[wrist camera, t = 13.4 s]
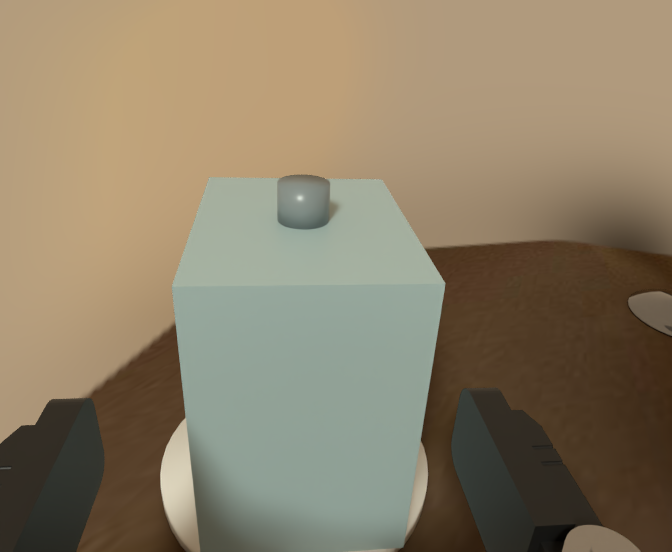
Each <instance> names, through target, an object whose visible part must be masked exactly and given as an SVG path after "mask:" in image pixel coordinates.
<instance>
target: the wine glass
mask: <svg viewBox="0 0 672 552" xmlns="http://www.w3.org/2000/svg"><path fill="white" fill-rule="evenodd" d="M627 302H628V307H629V308H630V310H631V311H632V313H633V314H634V315H635V316H636V317H637V318H639V319H640V320H641V321H642V322H644V323H645V324H647V325H648V326H650V327H652V328H654V329H656V330H658V331H660V332H662V333H664V334H666V335H669V336H671V337H672V290H666V289H646V290H641V291H637V292H635V293H633V294H632V295H631V296H630V297H629V298H628V301H627Z"/></svg>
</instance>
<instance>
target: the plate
mask: <svg viewBox="0 0 672 552" xmlns="http://www.w3.org/2000/svg"><path fill="white" fill-rule="evenodd" d="M160 475H161V492H162V499H163V505H164V510H165V515H166V518H167V521H168V523H169V526H170V528H171V531H172V533H173V534H174V536H175V537H176V539H177V541H178V542H179V544H180V545H181V547H182V548H183V549H184V550H185V551H186V552H200V544H199V535H198V525H197V516H196V507H195V497H194V488H193V479H192V470H191V460H190V451H189V442H188V432H187V423H186V418H185V419H184V420H183V421H182V422H181V424H180V425H179V426H178V428H177V429H176V431H175V432H174V434H173V435H172V437H171V439H170V441H169V443H168V445H167V447H166V450H165V453H164V456H163V460H162V466H161V473H160ZM427 480H428V467H427V459H426V455H425V450H424V447H423V445H422V442H421V441H420V447H419V453H418V459H417V466H416V472H415V478H414V485H413V491H412V497H411V504H410V510H409V516H408V523H407V529H406V535H405V541H404V545H405V543H406V542H407V540H408V539H409V537H410V536H411V534H412V533H413V531H414V529H415V527H416V525H417V523H418V521H419V519H420V516H421V512H422V509H423V505H424V501H425V495H426V489H427ZM400 549H401V548H392V549H377V550H363V551H348V552H398V551H399V550H400Z"/></svg>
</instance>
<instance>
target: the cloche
mask: <svg viewBox="0 0 672 552" xmlns="http://www.w3.org/2000/svg"><path fill="white" fill-rule="evenodd" d="M444 289H445V282H444V281H443V279H442V277H441V276H440V274H439V272H438V271H437V269H436V268H435V266H434V264H433V263H432V261H431V259H430V258H429V256H428V254H427V253H426V251H425V250H424V248H423V246H422V245H421V243H420V241H419V240H418V238H417V236H416V235H415V233H414V232H413V230H412V228H411V227H410V225H409V223H408V222H407V220H406V218H405V217H404V215H403V214H402V212H401V210H400V209H399V207H398V205H397V204H396V202H395V200H394V199H393V197H392V195H391V194H390V192H389V190H388V189H387V187H386V186H385V184H384V182H383V181H382V180H374V179H370V180H369V179H325V178H322V177H318V176H312V175H290V176H285V177H283V178H216V177H213V178H212V177H209V179H208V182H207V185H206V188H205V191H204V194H203V197H202V200H201V203H200V206H199V209H198V212H197V215H196V217H195V220H194V223H193V227H192V229H191V232H190V235H189V238H188V241H187V244H186V247H185V250H184V253H183V255H182V258H181V261H180V264H179V267H178V270H177V273H176V276H175V279H174V282H173V285H172V293H173V302H174V311H175V321H176V330H177V339H178V349H179V358H180V367H181V377H182V386H183V395H184V405H185V414H186V423H187V432H188V442H189V451H190V460H191V470H192V479H193V488H194V497H195V507H196V516H197V525H198V535H199V544H200V552H348V551H363V550H377V549H392V548H404V541H405V535H406V529H407V523H408V516H409V510H410V504H411V497H412V491H413V485H414V478H415V472H416V466H417V459H418V453H419V447H420V441H421V434H422V428H423V422H424V415H425V409H426V403H427V396H428V390H429V384H430V378H431V371H432V365H433V359H434V352H435V346H436V340H437V333H438V327H439V321H440V315H441V308H442V302H443V296H444Z"/></svg>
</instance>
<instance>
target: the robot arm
mask: <svg viewBox="0 0 672 552" xmlns="http://www.w3.org/2000/svg"><path fill="white" fill-rule="evenodd" d="M451 448H452V458H453V463H454V467H455V470H456V472H457V475H458V478H459V480H460V483H461V486H462V488H463V491H464V493H465V496H466V499H467V501H468V504H469V507H470V509H471V512H472V515H473V517H474V520H475V523H476V525H477V528H478V530H479V533H480V536H481V538H482V541H483V544H484V546H485V549H486V552H641V551H640V550H639V549H638V548H637V547H636V546H635V545H634V544H633V543H632V542H630V541H629V540H628V539H627V538H625V537H624V536H622V535H620V534H619V533H617V532H615V531H613V530H610V529H608V528H605V527H603V525H602V524H601V522H600V521H599V519H598V518H597V516H596V514H595V513H594V511H593V509H592V508H591V506H590V505H589V503H588V501H587V500H586V498H585V496H584V495H583V493H582V492H581V490H580V488H579V487H578V485H577V484H576V482H575V480H574V479H573V477H572V475H571V474H570V472H569V471H568V469H567V467H566V466H565V465H563V463H562V459H561V458H560V456H559V454H558V453H557V451H556V449H553V445H552V443H551V441H550V440H549V438H548V436H547V435H546V433H545V432H544V430H543V428H542V427H541V426H540V425H539V424H538V423H537V422H536V421H535V420H533V419H532V418H531V417H530V416H529V415H527V414H526V413H525V412H524V411H523V410H511V409H510V407H509V405H508V403H507V402H506V400H505V398H504V396H503V395H502V393H501V391H500V390H499V389H498V388H465V389H463V390H462V392H461V394H460V399H459V404H458V409H457V414H456V420H455V425H454V430H453V435H452V443H451ZM103 471H104V449H103V445H102V440H101V435H100V430H99V426H98V421H97V416H96V411H95V407H94V403H93V401H92V400H91V399H90V398H78V399H52V400H51V401H49V402H48V404H47V405H46V407H45V409H44V410H43V412H42V414H41V416H40V417H39V419H38V421H37V423H36V424H35V425H25V426H21V427H19V428H18V429H17V430H16V431H15V432H13V433H12V434H11V435H10V436H9V437H8V438H6V439H5V440H4V441H3V442H2V443H1V444H0V552H76V550H77V547H78V544H79V542H80V539H81V536H82V533H83V531H84V528H85V525H86V522H87V520H88V517H89V514H90V511H91V509H92V506H93V503H94V500H95V498H96V495H97V492H98V489H99V487H100V484H101V481H102V477H103Z"/></svg>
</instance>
